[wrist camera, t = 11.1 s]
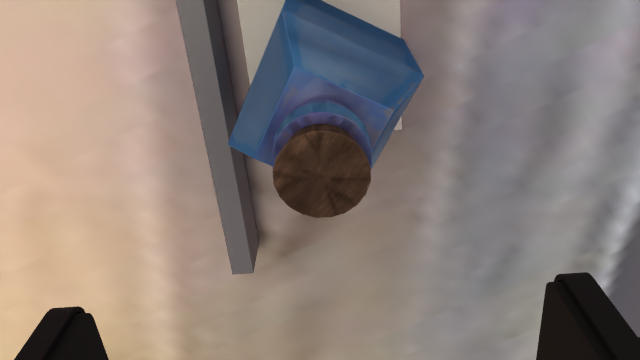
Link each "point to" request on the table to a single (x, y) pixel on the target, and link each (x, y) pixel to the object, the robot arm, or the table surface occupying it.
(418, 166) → the table surface
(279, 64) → the perfume bottle
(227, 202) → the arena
